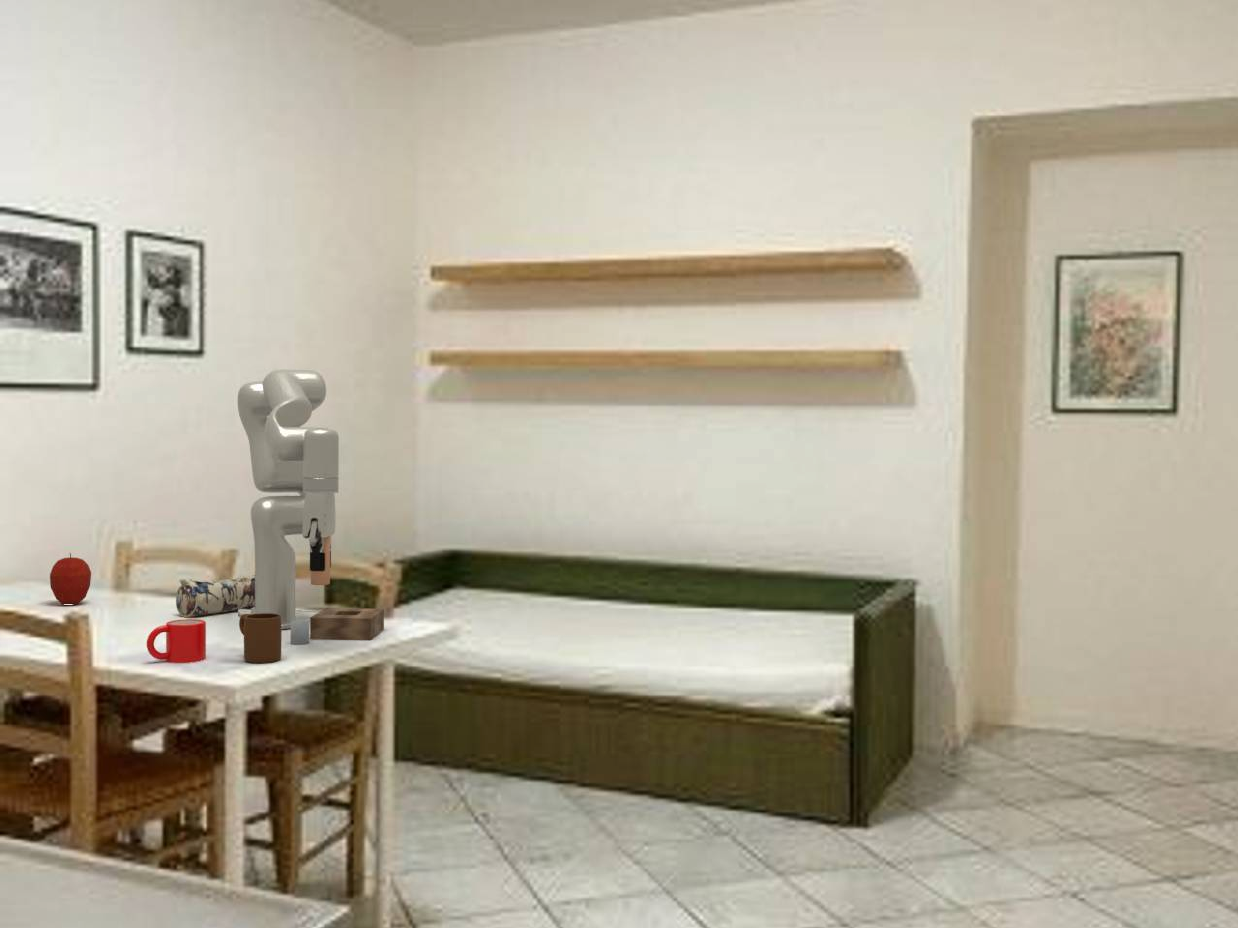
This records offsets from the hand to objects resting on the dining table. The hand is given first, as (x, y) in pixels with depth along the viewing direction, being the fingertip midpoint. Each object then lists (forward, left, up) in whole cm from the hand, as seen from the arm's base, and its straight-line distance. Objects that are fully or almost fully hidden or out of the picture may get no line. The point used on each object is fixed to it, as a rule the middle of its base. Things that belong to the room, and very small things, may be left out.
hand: (320, 568), depth 269 cm
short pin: (-7, +9, -18) cm, 21 cm away
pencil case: (-39, +48, -18) cm, 65 cm away
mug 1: (-27, -12, -18) cm, 35 cm away
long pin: (0, 0, -3) cm, 3 cm away
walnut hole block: (+1, +21, -18) cm, 27 cm away
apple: (-82, +57, -18) cm, 101 cm away
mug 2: (-11, -9, -18) cm, 23 cm away
